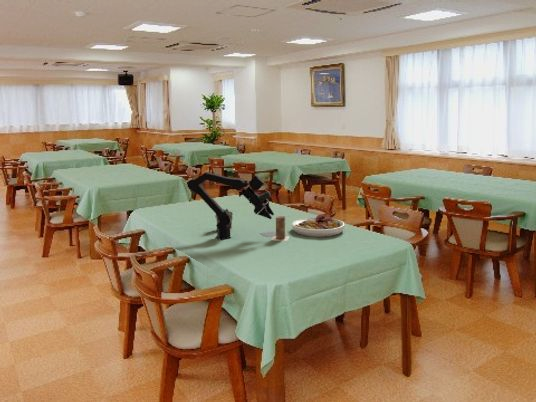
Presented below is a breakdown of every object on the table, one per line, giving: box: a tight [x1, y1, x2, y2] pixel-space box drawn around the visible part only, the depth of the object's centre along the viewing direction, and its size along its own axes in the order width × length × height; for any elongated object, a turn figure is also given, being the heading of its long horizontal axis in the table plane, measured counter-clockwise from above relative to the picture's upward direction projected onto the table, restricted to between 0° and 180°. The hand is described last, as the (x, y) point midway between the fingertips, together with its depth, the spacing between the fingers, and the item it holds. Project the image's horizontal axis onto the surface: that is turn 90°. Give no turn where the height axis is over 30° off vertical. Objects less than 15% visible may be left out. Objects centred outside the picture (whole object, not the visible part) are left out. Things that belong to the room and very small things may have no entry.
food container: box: [214, 211, 234, 230], centre depth 292 cm, size 12×6×10 cm, turn 141°
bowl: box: [291, 213, 345, 238], centre depth 284 cm, size 30×30×8 cm
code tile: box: [271, 235, 290, 242], centre depth 269 cm, size 9×9×1 cm
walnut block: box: [275, 215, 286, 240], centre depth 268 cm, size 5×5×12 cm
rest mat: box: [259, 231, 276, 238], centre depth 278 cm, size 9×9×1 cm
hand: (272, 216), depth 267 cm, fingers open, 9 cm apart
